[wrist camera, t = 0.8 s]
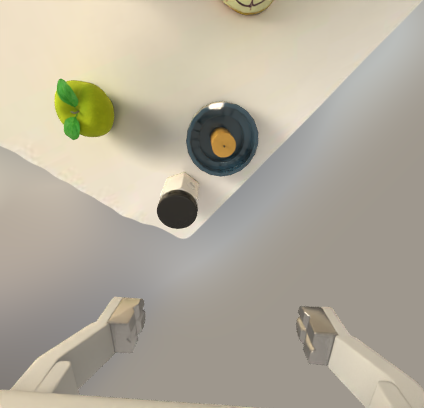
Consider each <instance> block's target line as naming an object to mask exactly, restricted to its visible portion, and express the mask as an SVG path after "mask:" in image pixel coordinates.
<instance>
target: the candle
mask: <svg viewBox="0 0 424 408" xmlns="http://www.w3.org/2000/svg"><path fill="white" fill-rule="evenodd" d="M210 139H211V145H212V149H213V152H214V153H215V154H216V155H217V156H219V157H228V156H230V155H231V154H233V152H234V151H235V148H236V142H235V139H234V138H233V136H232V135H231V133H230V132H229V131H228V130H227V129H226V128H223V127H219V128H216V129H215V130H213V132H212V133H211V137H210Z"/></svg>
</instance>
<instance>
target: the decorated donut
mask: <svg viewBox="0 0 424 408" xmlns="http://www.w3.org/2000/svg"><path fill="white" fill-rule="evenodd" d="M223 2H224V3H225V4H226V5H227V6H229V7H230V8H231V9H233V10H235V11H236V12H238V13H240V14H244V15H249V14H257V13H260V12H262V11H263V10H265V9H266V8H267V7H268V6H269V5H270V4H271V3H272V2H273V0H223Z"/></svg>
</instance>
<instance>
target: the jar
mask: <svg viewBox="0 0 424 408" xmlns="http://www.w3.org/2000/svg"><path fill="white" fill-rule="evenodd" d="M198 187H199V183H198V182H197V181H195V180H194V179H193V178H191V177H190V176H189V175H188V174H186V173H185V172H183V173H180V174H177V175H174V176H171V177H168V178H167V180H166V182H165V185H164V187H163V190H162V193H161V197H160V201H159V204H158V207H157V214H158V217H159V219H160V220H161V222H162V223H163V224H165V225H166V226H168V227H171V228H175V229H181V228H185V227H188V226H190V225H191V224H192V223H193V222H194V221H195V219H196V217H197V211H198V207H197V204H198Z"/></svg>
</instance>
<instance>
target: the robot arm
mask: <svg viewBox="0 0 424 408" xmlns="http://www.w3.org/2000/svg"><path fill="white" fill-rule="evenodd" d="M143 306H144V300H143V299H138V298H125V297H124V298H122V297H115V298H113V299H112V300H111V302H110V303H109V304H108V306H107V307H106V309H105V310H104V311H103V313H102V314H101V316H100V317H99V318H98V320H97V321H96V323H91V324H90V325H88V326H87V327H85V328H83V329H82V330H81V331H79V332H77V333H76V334H74V335H73V336H71V337H69V338H68V339H66V340H65V341H63V342H62V343H60V344H58V345H57V346H55V347H54V348H52V349H51V350H49V351H48V352H46V353H45V354H43V355H41V356H40V357H38V358H37V359H36V360H35V361H34V362H33V364H32V365H31V366H30V367H29V368H28V369H27V371H26V372H25V373H24V374H23V375H22V376H21V378H20V379H19V380H18V381H17V382H16V383H15V385H14V386H13V387H12V388H11V389H10V390H0V408H258V407H243V406H228V405H215V404H201V403H186V402H172V401H158V400H143V399H129V398H115V397H101V396H85V395H80V394H79V391H78V389H79V388H80V387H81V386H82V385H83V384H84V383H85V382H86V381H87V380H89V378H91V377H92V376H93V375H94V374H95V373H96V372H97V371H98V370H99V369H100V368H101V367H102V366H103V365H104V364H105V363H106V362H107V361H108V360H109V359H110V358H111V357H112V356H113V355H114V354H115V353H133V350H134V348H135V346H136V344H137V341H138V336H137V335H138V334H139V333H140V332H141V331H142V329H143V327H144V323H145V311H144V310H143ZM298 313H299V315H300V317H299V318H298V319H297V322H296V329H297V334H298V337H299V340H300V341H301V342H302V343H303V344H304V347H303V350H304V353H305V355H306V358H307V360H308V363H309V364H317V365H328V367H329V368H330V370H331V371H332V372H333V373H334V374H335V375H336V376H337V377H338V378H339V379H340V380H341V381H342V383H343V384H344V385H345V386H346V387H347V388H348V389H349V390H350V391H351V392H352V393H353V394H354V395H355V397H357V399H358V400H359V401H360V402H361V403H362V404H363V405H364V406H365V407H366V408H424V390H423V389H422V387H421V386H420V385H419V384H418V382H416V381H415V380H414V379H412V378H411V377H410V376H408V375H407V374H405V373H404V372H402V371H401V370H400V369H399V368H397V367H396V366H394V365H393V364H391V363H390V362H389V361H387V360H386V359H385V358H383V357H382V356H381V355H379V354H378V353H376V352H375V351H373V350H372V349H371V348H369V347H368V346H366V345H365V344H364V343H362V342H361V341H360V340H358V339H357V338H356V337H353V336H351V335H350V334H349V332H348V331H347V330H346V328H345V326H344V325H343V323H342V322H341V320H340V319H339V318H338V316H337V315H336V313H335V312H334V310H333V309H332V308H331V307H309V306H300V307H299V310H298Z"/></svg>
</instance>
